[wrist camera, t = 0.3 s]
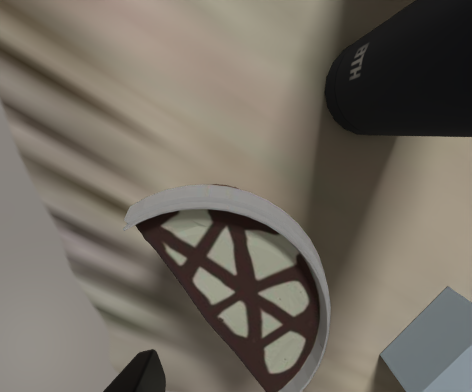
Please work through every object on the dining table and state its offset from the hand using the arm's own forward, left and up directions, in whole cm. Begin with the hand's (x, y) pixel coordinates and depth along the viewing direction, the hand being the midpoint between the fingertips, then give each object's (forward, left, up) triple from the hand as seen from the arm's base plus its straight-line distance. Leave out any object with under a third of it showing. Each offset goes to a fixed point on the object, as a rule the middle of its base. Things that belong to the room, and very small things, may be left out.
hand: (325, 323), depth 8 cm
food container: (-2, +2, -15) cm, 15 cm away
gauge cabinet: (-18, -12, -15) cm, 26 cm away
